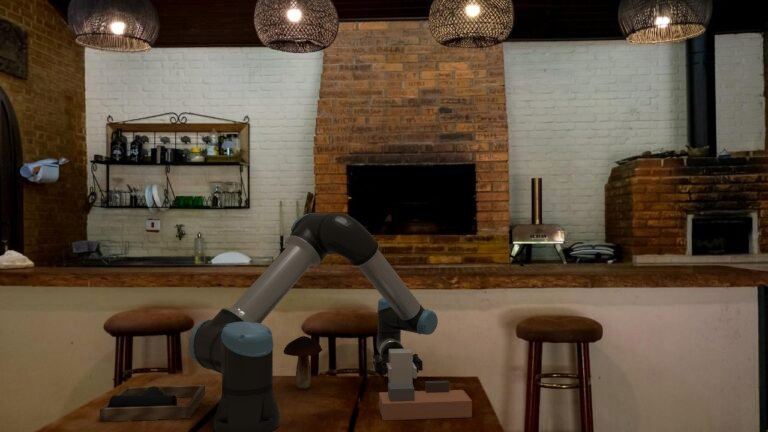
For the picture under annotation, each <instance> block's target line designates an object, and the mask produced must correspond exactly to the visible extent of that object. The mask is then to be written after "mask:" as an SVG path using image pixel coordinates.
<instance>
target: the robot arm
mask: <svg viewBox="0 0 768 432" xmlns="http://www.w3.org/2000/svg"><path fill="white" fill-rule="evenodd" d="M286 240H287V241H286V242H287V247H286V248H285V249H284V250H283V251H282V252H281V253H280V254H279V255H278V256H277V257H276V258H275V260H274V261H272V263H270V265H268V267H267V268H266V269H265V270H264V271H263V272H262V273H261V275H260V276H259V277H258V278H257V279H256V280H255V281H254V282H253V283H252V284H251V286H249V288H248V289H247V290H246V291H245V292H244V293H243V294H242V296H240V298H238V300H237V301H235V303H234V304H233V305H231V307H223V308H222V309H220V310H219V311H218V313H217V314H216V315H215V316H214V317H213V318H212V319H207V320H203V321H200V322H199V323H198V324H197V325H196V326H195V327H194V328H193V329H192V331H191V333H190V335H189V338H188V339H189V340H188V351H189V353H190V356H191V358H192V360H194V362H195V363H196V364H198V365H200V366H201V367H202V368H204V369H206V370H212V371H214V372H217V373H219V374H220V375H221V396H220V398H219V402H218V405H217V409H216V411H215V415H214V419H213V429H214V432H272V431H274V430H276V429H277V428H278V427H279V426H280V425H281V411H280V410H279V405H278V404H277V400H276V397H275V394H274V390H273V384H274V383H273V382H274V379H273V377H274V375H273V373H274V371H273V368H274V365H273V364H274V362H273V361H274V360H273V357H274V354H273V352H274V340H273V339H274V338H273V332H272V330H271V328H270V327H269V326H267V325H265V324H262V323H263V321H264V320H265V319H266V318H267V317H268V316H269V315H270V314H271V312H272V311H273V310H274V309H275V308H276V307H277V305H278V304H279V303H280V302H281V301H282V300H283V299H284V297H286V295H287V294H288V293H289V292H290V291H291V289H292V288H293V287H294V286H295V285H296V283H297V282H298V281H299V280H300V279H301V278H302V277H303V275H304V274H306V272H307V271H308V270H309V268H310V267H318V266H319V265H320V264H321V263H322V261H324V259H325V258H326V257H327V256H328V255H337V256H340V257H343V258H344V259H346V260H347V261H348V262H349V264H351V266H353V267H358V269H359V270H360V271H361V272H362V274H363V275H364V276H365V277H366V279H367V280H368V281H369V282H370V283H371V284H372V286H373V287H374V289H375V290H376V291H377V292H378V293H379V294H380V295H381V297H382V298H379V299H378V302H377V311H376V313H377V340H376V350H377V352H378V354H379V355H378V354H373V355H372V365H374V368H375V369H374V370H375V372H376V373H379V372H380V371H381V374H382V375H384V376H386V375H387V377H388V380H389V379H392V368H391V366H390V364H389V349H405V347H404V346H403V345H402V343H401V342H402V341H401V339H402V338H401V337H402V336H401V335H402V334H401V333H402V331H404V332H409V333H414V334H418V335H424V336H425V335H427V336H429V335H430V336H431V335H432V334H433V333H434V332H435V331H436V329H437V328H438V324H439V322H438V321H439V320H438V315H437V314H436V312H435V311H433V310H430V309H427V308H426V309H425V308H424V306H423V305H422V304H421V303H420V302H419V300H417V298H416V297H415V296H414V294H413V293H412V291H411V290H410V289H409V288H408V286H407V284H406V283H404V281H403V280H402V278H401V277H400V276H399V275H398V273H397V272H396V271H395V269H394V268H393V267H392V266H391V264H390V262H389V261H388V260H387V259H386V258H385V256H384V255H383V253H381V251H380V250H379V249H380V246H379V245H380V244H379V243H378V242H377V240H376V238H374V236H373V235H372V234H371V233H370V232H369V230H368V229H366V227H365V226H364V225H362V223H360V221H357V219H355V218H353V217H352V216H350V215H348V214H346V213H339V212H333V213H330V212H329V213H326V212H320V213H319V212H310V213H307V214H303V215H301V216H299V217H298V218H297V219H295V220H294V222H293V224H292V225H291V228H290V233H289V236H288V237H287V239H286ZM423 366H424V364H423V360H422V359H421V358H420V357H419V356H418V354H417V353H413V366H412V376H413V379H417V378H418V376H417V375H418V373H419V372H422V371H424V370H423V369H424V368H423Z"/></svg>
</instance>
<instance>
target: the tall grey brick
mask: <svg viewBox="0 0 768 432" xmlns="http://www.w3.org/2000/svg"><path fill="white" fill-rule="evenodd" d="M413 355H414V353H413V351H412V350H411V348H404V349H389V364H390V366H391V368H392V379H389V378H388V383H412V385H413V386H414V384H413V383H414V382H413V379H414V378H413V376H412V366H413Z"/></svg>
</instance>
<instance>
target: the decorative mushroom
mask: <svg viewBox="0 0 768 432" xmlns="http://www.w3.org/2000/svg"><path fill="white" fill-rule="evenodd" d="M322 351H323V348H322V346H321V345H320V343H319V342H318V341H316V340H314V339H313V338H311V337H309V336H305V335H303V336H302V335H301V336H299V337H297V338H295V339H293V340H292V341H290V342H289V343H287V344H286V346H285V348H284V349H283V351H282V352H283V354H284V355H287V356H292V357H297V364H296V370H295V384H296V385H295V386H296V387H297V388H298V389H300V390H306V389H308V388H309V387H310V386H311V383H312V381H311V379H312V375H311V372H312V371H311V363H310V357H311V356H316V355H318V354H320V353H321V352H322Z"/></svg>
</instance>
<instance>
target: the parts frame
mask: <svg viewBox="0 0 768 432" xmlns="http://www.w3.org/2000/svg"><path fill="white" fill-rule="evenodd" d="M148 387H149V386H132V387H127V386H126V387H124V388H122V390H121V391H119V392H118V393H117V394H116V395H141V394H143V393H144V390H146V389H147V388H148ZM158 387H165V392H164V393H165V395H175V396H176V398H177V399H181V398H180V397H192V398H191V399H190V400H189V401H188V403H187V404H186V405H185V404H182V405H180V404H179V405H178V404H177V406H148V407H118V408H108V405H109V401H108V402H106V404H104V405H103V406H102V407H100V409H99V423H105V422H107V423H109V421H113V422H129V421H128V420H141V421H159V420H158V419H169V420H179V419H178V418H189V417H191V418H192V416H193V415H194V413H195V412H196V410H197V409H198V407H199V406H200V404H201V403H202V401H203V400H204V398H205V397H206V384H198V385H197V384H196V385H195V384H193V385H191V384H190V385H189V384H188V385H164V386H163V385H159V386H158ZM204 396H205V397H204ZM203 397H204V398H203ZM202 399H203V400H202ZM201 400H202V401H201ZM200 402H201V403H200ZM199 403H200V404H199ZM198 405H199V406H198ZM197 406H198V407H197ZM196 408H197V409H196ZM195 409H196V410H195ZM194 411H195V412H194ZM193 412H194V413H193ZM192 414H193V415H192ZM191 415H192V416H191Z"/></svg>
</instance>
